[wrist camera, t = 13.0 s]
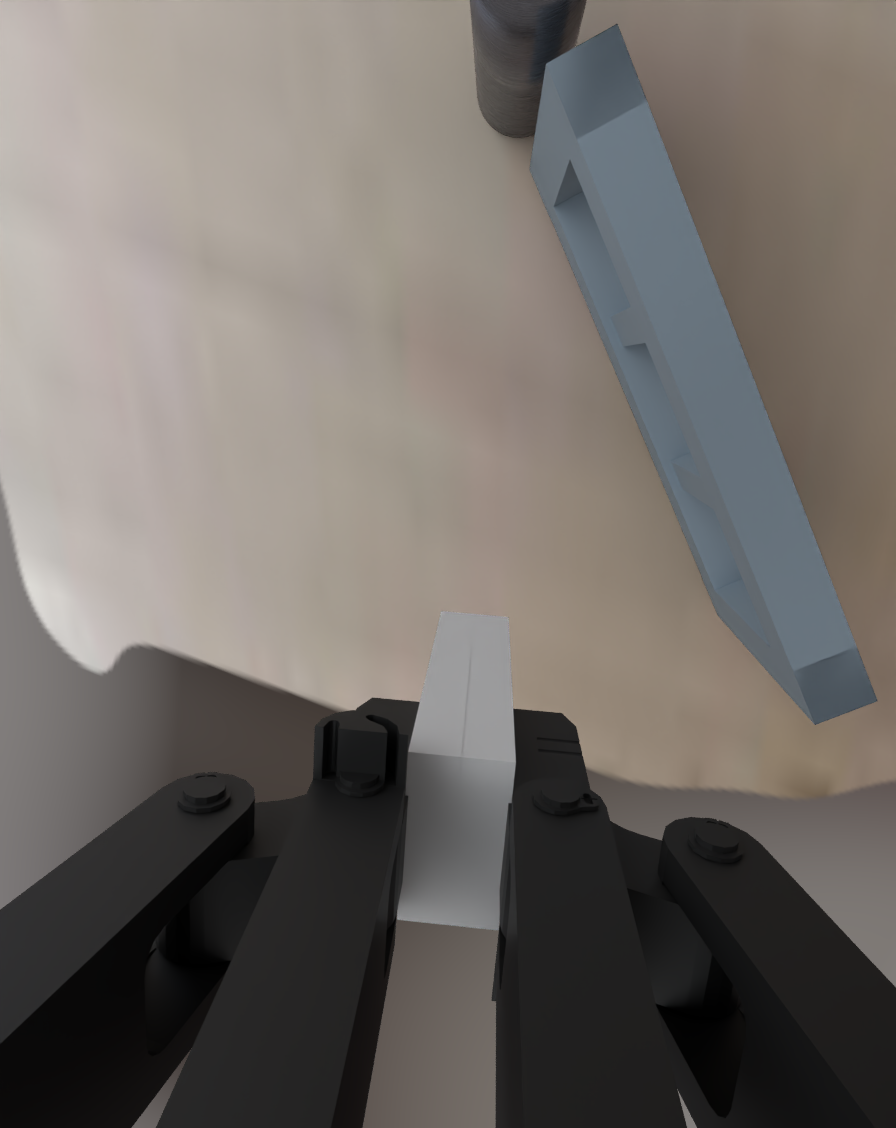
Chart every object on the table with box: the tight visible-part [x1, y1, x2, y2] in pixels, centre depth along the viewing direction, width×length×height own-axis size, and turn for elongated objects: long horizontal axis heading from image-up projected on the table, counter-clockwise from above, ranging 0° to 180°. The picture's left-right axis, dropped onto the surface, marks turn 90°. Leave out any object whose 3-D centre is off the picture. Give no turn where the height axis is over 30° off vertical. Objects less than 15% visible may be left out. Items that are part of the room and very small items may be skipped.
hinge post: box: [470, 0, 586, 138], centre depth 20 cm, size 3×3×10 cm
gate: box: [530, 24, 877, 725], centre depth 22 cm, size 2×17×9 cm, turn 26°
